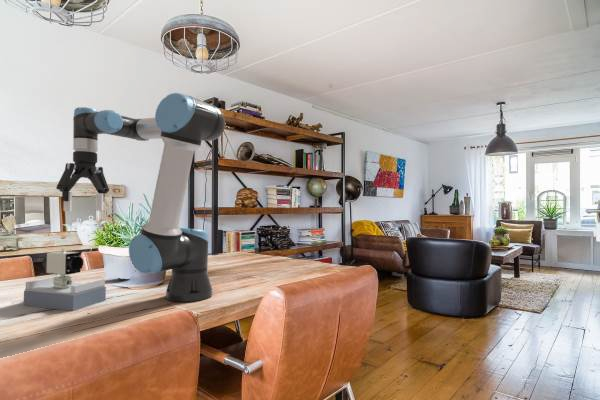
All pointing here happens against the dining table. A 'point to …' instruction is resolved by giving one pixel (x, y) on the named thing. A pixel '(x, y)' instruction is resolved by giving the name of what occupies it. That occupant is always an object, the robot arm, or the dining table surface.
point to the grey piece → (64, 294)
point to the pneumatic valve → (62, 266)
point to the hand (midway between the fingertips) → (84, 211)
